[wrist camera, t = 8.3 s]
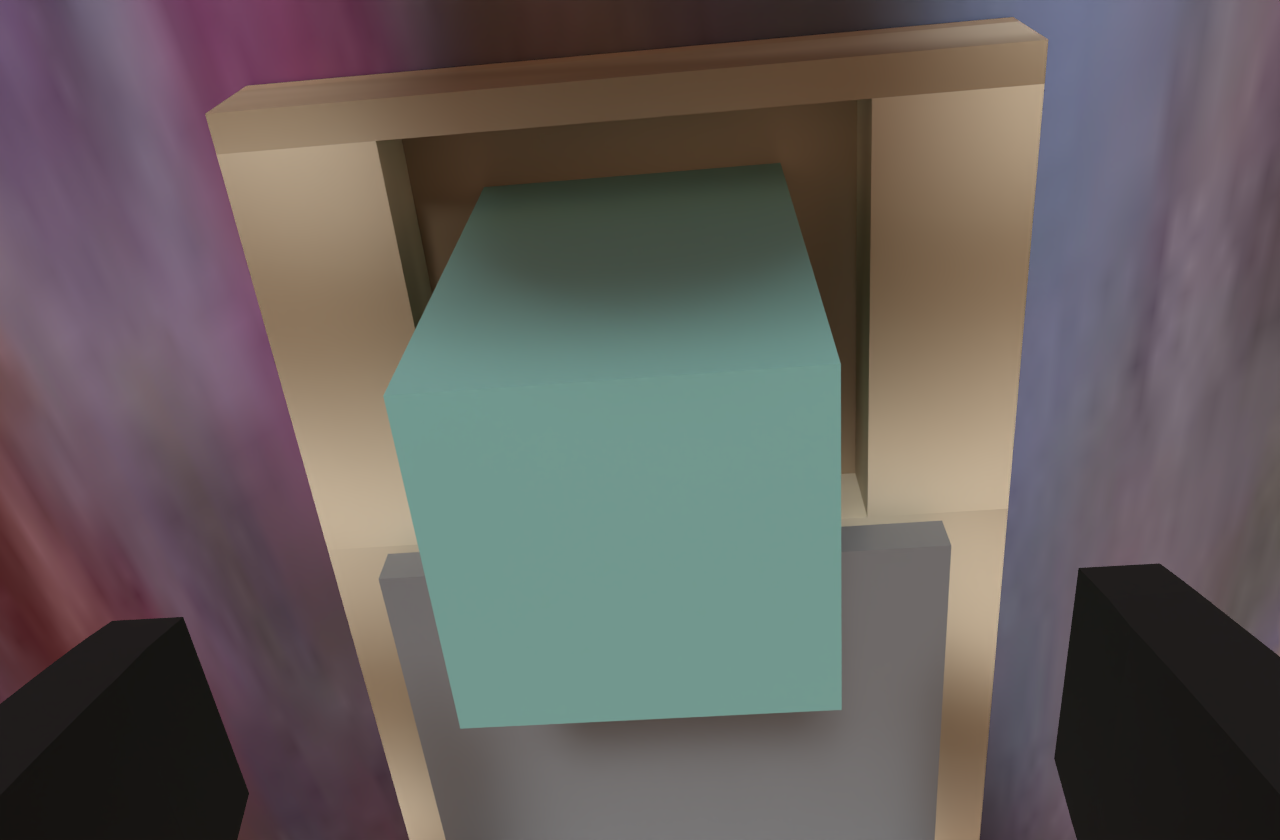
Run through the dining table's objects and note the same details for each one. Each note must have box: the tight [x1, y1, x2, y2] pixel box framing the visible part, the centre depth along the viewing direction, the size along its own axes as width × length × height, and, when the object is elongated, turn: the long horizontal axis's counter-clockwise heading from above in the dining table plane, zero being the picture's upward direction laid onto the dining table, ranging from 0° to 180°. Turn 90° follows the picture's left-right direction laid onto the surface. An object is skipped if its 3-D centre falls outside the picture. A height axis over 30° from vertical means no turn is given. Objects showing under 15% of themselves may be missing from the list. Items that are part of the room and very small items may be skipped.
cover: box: [379, 521, 951, 840], centre depth 16 cm, size 7×8×3 cm
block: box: [383, 163, 842, 729], centre depth 13 cm, size 4×4×6 cm
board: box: [205, 17, 1048, 840], centre depth 19 cm, size 22×10×2 cm, turn 5°
